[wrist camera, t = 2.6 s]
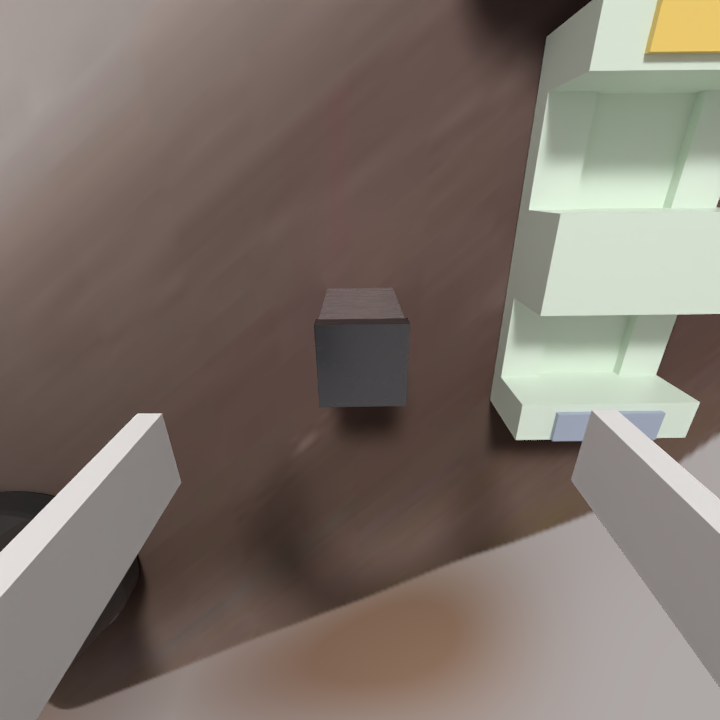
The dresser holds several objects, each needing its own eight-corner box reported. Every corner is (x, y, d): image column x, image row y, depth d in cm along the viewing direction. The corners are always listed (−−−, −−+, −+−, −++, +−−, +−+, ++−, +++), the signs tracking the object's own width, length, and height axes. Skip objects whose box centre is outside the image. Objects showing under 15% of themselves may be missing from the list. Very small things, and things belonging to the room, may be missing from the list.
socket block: (490, 399, 26) (517, 443, 22) (546, 36, 18) (610, -15, 13) (632, 397, 26) (689, 440, 22) (755, 34, 18) (889, -18, 13)
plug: (328, 350, 24) (319, 407, 18) (325, 287, 23) (314, 325, 16) (392, 349, 24) (405, 406, 18) (394, 286, 23) (409, 323, 16)
